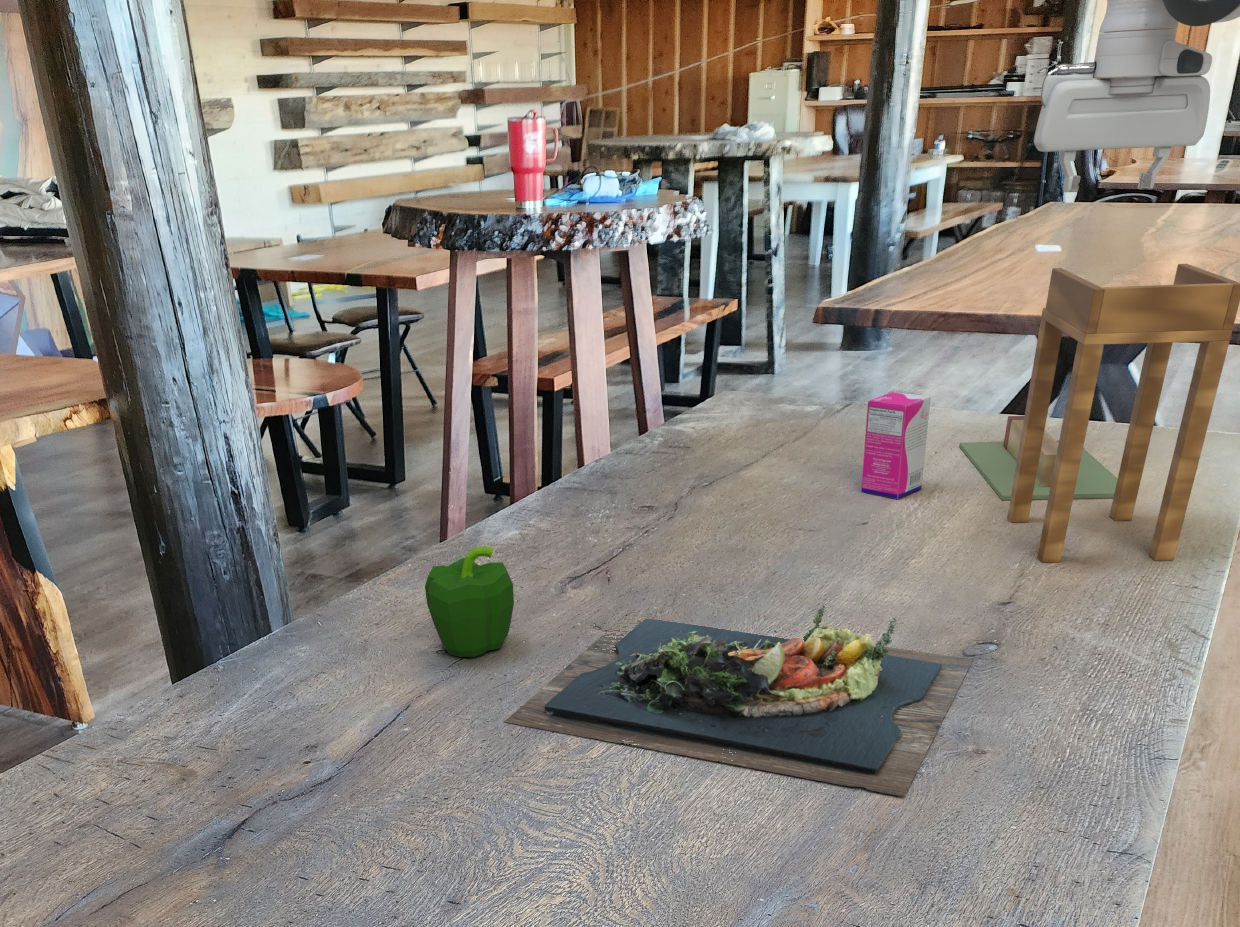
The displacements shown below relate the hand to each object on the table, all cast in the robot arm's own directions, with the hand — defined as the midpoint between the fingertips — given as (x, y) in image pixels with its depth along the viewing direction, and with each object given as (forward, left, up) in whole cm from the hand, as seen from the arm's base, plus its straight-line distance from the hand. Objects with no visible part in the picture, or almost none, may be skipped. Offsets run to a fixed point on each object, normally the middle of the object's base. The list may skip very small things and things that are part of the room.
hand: (1107, 190), depth 153 cm
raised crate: (+9, +44, -31) cm, 55 cm away
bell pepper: (+76, +74, -31) cm, 111 cm away
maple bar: (+8, +16, -30) cm, 35 cm away
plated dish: (+50, +84, -31) cm, 103 cm away
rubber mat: (+7, +16, -31) cm, 36 cm away
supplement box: (+28, +24, -31) cm, 48 cm away
